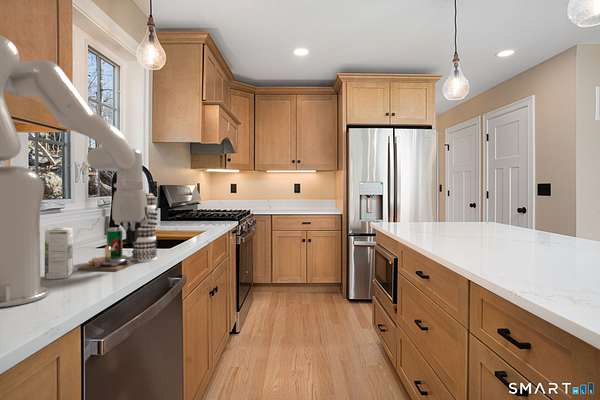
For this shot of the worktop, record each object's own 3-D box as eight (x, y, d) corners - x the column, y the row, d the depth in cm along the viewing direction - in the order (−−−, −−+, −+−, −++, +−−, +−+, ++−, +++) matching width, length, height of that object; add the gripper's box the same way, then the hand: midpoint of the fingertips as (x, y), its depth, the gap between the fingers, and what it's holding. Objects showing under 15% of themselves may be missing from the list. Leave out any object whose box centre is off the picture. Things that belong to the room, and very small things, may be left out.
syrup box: (50, 275, 101) (50, 227, 100) (73, 273, 103) (73, 227, 103) (44, 280, 95) (43, 230, 95) (68, 278, 98) (68, 229, 97)
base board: (116, 271, 106) (116, 268, 106) (77, 270, 107) (77, 268, 107) (138, 262, 119) (138, 260, 119) (103, 261, 120) (103, 259, 120)
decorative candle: (139, 256, 129) (138, 192, 128) (162, 257, 129) (162, 193, 128) (125, 261, 120) (125, 193, 119) (150, 262, 119) (150, 193, 119)
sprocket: (118, 267, 107) (118, 248, 107) (78, 266, 108) (78, 247, 107) (140, 258, 120) (140, 241, 120) (104, 258, 121) (104, 241, 121)
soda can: (125, 259, 125) (125, 227, 125) (116, 262, 120) (116, 228, 119) (112, 258, 125) (112, 227, 125) (103, 261, 120) (103, 228, 120)
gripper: (100, 187, 105) (102, 244, 106) (146, 187, 105) (148, 244, 106) (114, 186, 113) (116, 239, 114) (157, 186, 112) (159, 240, 113)
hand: (131, 242), depth 110 cm, fingers closed
